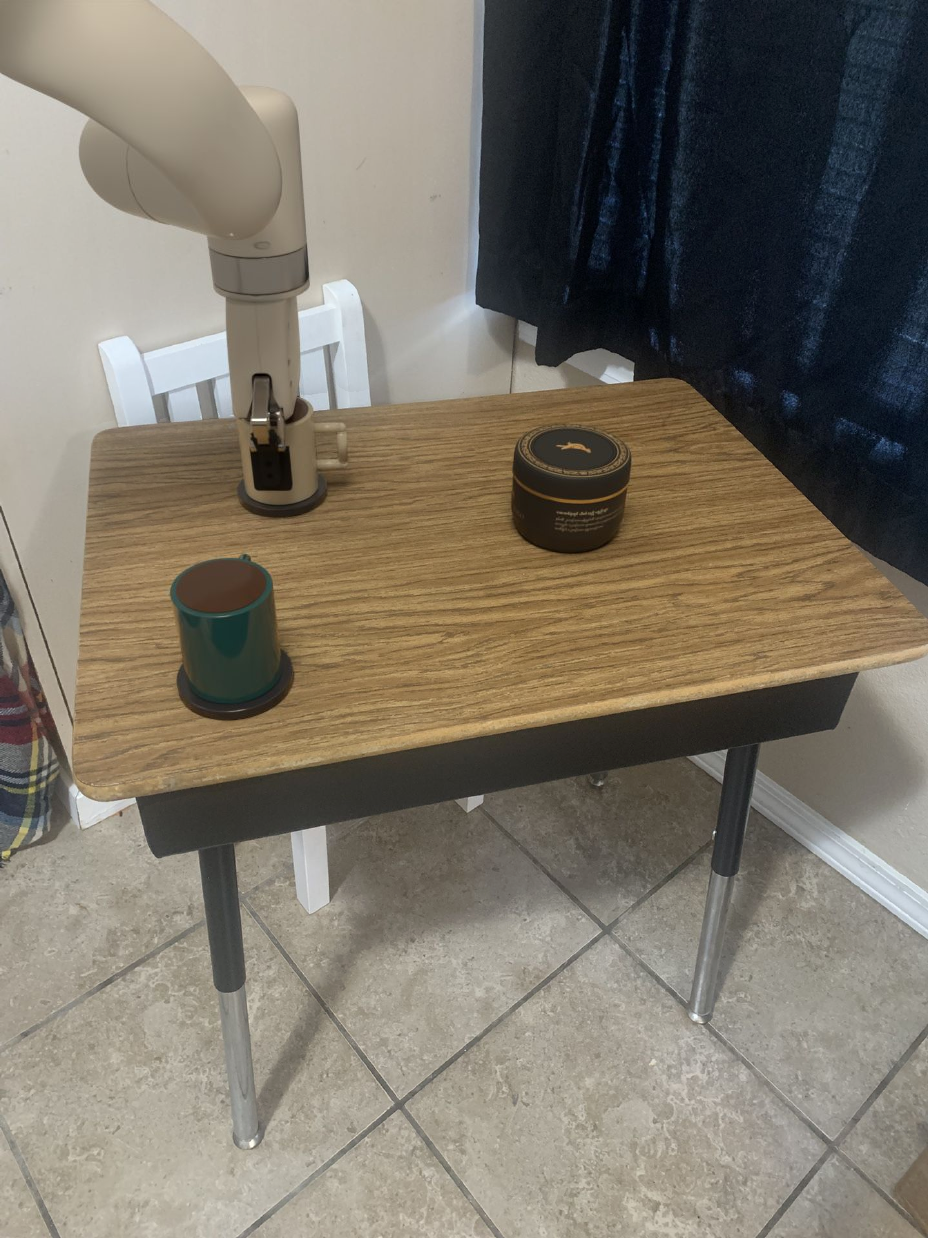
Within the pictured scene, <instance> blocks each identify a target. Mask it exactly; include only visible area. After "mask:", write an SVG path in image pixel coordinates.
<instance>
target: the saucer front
mask: <svg viewBox="0 0 928 1238" xmlns="http://www.w3.org/2000/svg"><path fill="white" fill-rule="evenodd" d="M280 650H281V659H282V674H281V676H280V679H279V680H278V682H277V683H276V684H275V686H274V687H273V688H272V689H270V690H269V691H268V692H266V693H265V694H263V695H261V696H260V697H257V698H255V699H252V700H250V701H246V702H242V703H235V704H221V703H214V702H210V701H207V700H204V699H202V698H200V697H199V696H197V695H196V694H195V693H194V692H193V691H192V690H191V689H190V688H189V686H188V683H187V680H186V675H185V670H184V664H183V662H182V663H181V665H180V667H179V668H178V671H177V674H176V678H175V679H176V688H177V692H178V696H179V698H180V700H181V702H182V703H183V705H185V707H187V708H188V709H189V710H190V711H192V712H193V713H195V714H197V715H199V716H202V717H204V718H208V719H213V720H219V721H221V720H222V721H233V720H243V719H248V718H252V717H254V716H258V715H260V714H262V713H265V712H267V711H268V710H271V709H272V708H273V707H275V706H276V705H278V704H279V703H281V701H282V700H283V699H284V698H285V697H286V696H287V695H288V693H289V691H290V690H291V688H292V686H293V682H294V668H293V663H292V660H291V658H290V656H289V655H288V654H287V651H285V650H284V649H283V648H282V647H280Z"/></svg>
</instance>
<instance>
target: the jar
mask: <svg viewBox="0 0 928 1238" xmlns="http://www.w3.org/2000/svg"><path fill="white" fill-rule="evenodd" d="M512 459H513V460H512V464H511V465H512V466H511V472H512V474H511V475H512V481H511V497H510V498H511V499H510V507H511V509H510V510H511V514H512V518H513V522H514V524H515V528H516V529H517V531H518V532H519V533H520V534H521V535H522V536H523V538H525V539H526V540H527V541H528V542H530V543H532V544H534V545H535V546H537V547H540V548H541V549H546V550H548V551H553V552H559V553H582V552H583V553H584V552H589V551H592V550H595V549H598V548H600V547H602V546H604V545H605V544H606V543H608V542H610V540H611V539H612V538H614V536H615V535H616V533H617V531H618V529H619V527H620V525H621V522H622V521H623V518H624V511H625V507H626V499H627V493H628V486H629V484H630V482H631V476H632V473H631V470H632V453H631V450H630V447H629V446H628V445H627V443H625V442H624V440H622V439H621V438H620V437H619V436H617V435H616V434H614V433H611V432H609V431H607V430H605V429H602V428H600V427H595V426H592V425H586V424H581V423H551V424H546V425H542V426H538V427H535V428H532V429H530V430H529V431H526V432H525V433H524V434H523V435H521V437H519V439H518V440H517V442H516V443H515V446H514V451H513V458H512Z"/></svg>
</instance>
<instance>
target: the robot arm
mask: <svg viewBox="0 0 928 1238" xmlns="http://www.w3.org/2000/svg"><path fill="white" fill-rule="evenodd" d="M0 74H1V75H3V76H4V77H7V78H8V79H10V80H12V81H14V82H17V83H19V84H20V85H23V86H25V87H27V88H30V89H31V90H34V91H36V92H38V93H41V94H43V95H45V96H47V97H49V98H52V99H54V100H56V101H58V102H60V103H61V104H64V105H66V106H68V107H70V108H71V109H74V110H75V111H77V112H79V113H81V114H83V115H84V116H86V117H88V120H87V121H86V123H85V124H84V127H83V128H82V131H81V134H80V137H79V143H78V144H79V145H78V157H79V158H78V160H79V164H80V168H81V171H82V174H83V175H84V178H85V180H86V181H87V183H88V185H89V186H90V188H91V189H92V190H93V192H95V194H96V195H97V196H98V197H99V198H101V199H102V200H103V201H104V202H105V203H107V204H109V205H110V206H112V207H113V208H115V209H116V210H119V211H121V212H123V213H125V214H128V215H131V216H134V217H138V218H141V219H144V220H148V221H152V222H155V223H159V224H163V225H168V226H173V227H175V228H180V229H183V230H186V231H189V232H193V233H197V234H199V235H204V236H206V241H207V246H208V247H207V248H208V255H209V262H210V263H209V264H210V271H211V278H212V288H213V290H214V291H215V293H216V294H218V295H219V296H221V297H224V298H225V335H226V337H225V338H226V349H227V361H228V362H227V363H228V373H229V375H228V376H229V383H230V384H229V385H230V397H231V409H232V415H233V417H234V418H235V419H236V418H237V419H238V420H241V419H242V418H247V415H248V412H249V409H250V457H251V465H252V473H253V482H254V488H255V489H256V490H257V491H290V490H291V489H292V486H293V481H292V470H291V460H290V449H289V446H286V445H285V420H286V419H288V418H289V417H290V416H291V415H292V414H293V411H294V407H295V402H296V398H297V397H300V395H298V392H299V386H300V380H301V337H300V335H301V334H300V322H299V309H298V296H300V295H302V294H304V293H305V292H306V291H307V290H308V289H309V288H310V285H311V282H310V279H311V278H310V266H309V253H308V252H309V251H308V237H307V224H306V223H307V222H306V210H305V198H304V197H305V195H304V184H303V183H304V182H303V169H302V168H303V167H302V150H301V137H300V123H299V115H298V110H297V107H296V105H295V103H294V101H293V99H292V98H291V97H290V96H289V95H287V93H285V92H284V91H281V90H279V89H277V88H273V87H268V86H261V85H247V84H246V85H242V84H241V85H237V84H235V82H234V81H233V79H232V78H231V77H230V75H229V74H228V72H226V70H225V69H224V68H223V66H222V65H221V64H220V63H219V62H218V60H217V59H215V58H214V56H213V55H212V54H211V53H210V52H209V51H208V50H207V49H206V48H205V47H204V46H203V44H201V43H200V42H199V41H198V40H197V39H196V38H195V37H194V36H192V35H191V34H190V33H189V32H188V31H187V30H186V29H185V28H183V26H182V25H180V24H179V23H178V22H177V21H175V20H174V19H173V18H172V17H171V16H170V15H168V14H167V13H166V12H165V11H163V10H162V9H161V8H159V7H158V6H157V5H156V4H154V3H153V2H152V1H151V0H0ZM270 407H279V412H270ZM270 422H277V433H276V432H275V430H274V429H270V428H271V425H270Z"/></svg>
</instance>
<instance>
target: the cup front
mask: <svg viewBox="0 0 928 1238" xmlns="http://www.w3.org/2000/svg"><path fill="white" fill-rule="evenodd" d="M273 581H274V580H273V578H272V576H271V573H269V570H267V569H266V568H265V567H264V566H262V565H261V564H259V563H256V562H254V561H252V557H251V556H250V555H249V554H248V553H242V554H240V555H239V556H238V558H237V557H220V558H213V559H208V560H204V561H201V562H198V563H196V564H194V565H191V566H190V567H187V568H186V569H184V570H183V571H181V572H180V573H179V574H178V575H177V576H176V578H174V580H173V581H172V583H171V586H170V588H169V599H170V603H171V609H172V614H173V618H174V624H175V628H176V633H177V638H178V643H179V649H180V654H181V660H182V663H183V664H184V670H185V675H186V680H187V683H188V686H189V688H190V689H191V690H192V691H193V692H194V693H195V694H196V695H197V696H199V697H200V698H202V699H204V700H207V701H210V702H214V703H221V704H235V703H242V702H246V701H250V700H252V699H255V698H257V697H260V696H261V695H263V694H265V693H266V692H268V691H269V690H270V689H272V688H273V687H274V686H275V684H276V683H277V682H278V680H279V679H280V676H281V674H282V659H281V650H280V648H281V642H280V636H279V635H280V633H279V625H278V615H277V607H276V598H275V597H276V596H275V590H274V589H275V588H274V582H273Z"/></svg>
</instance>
